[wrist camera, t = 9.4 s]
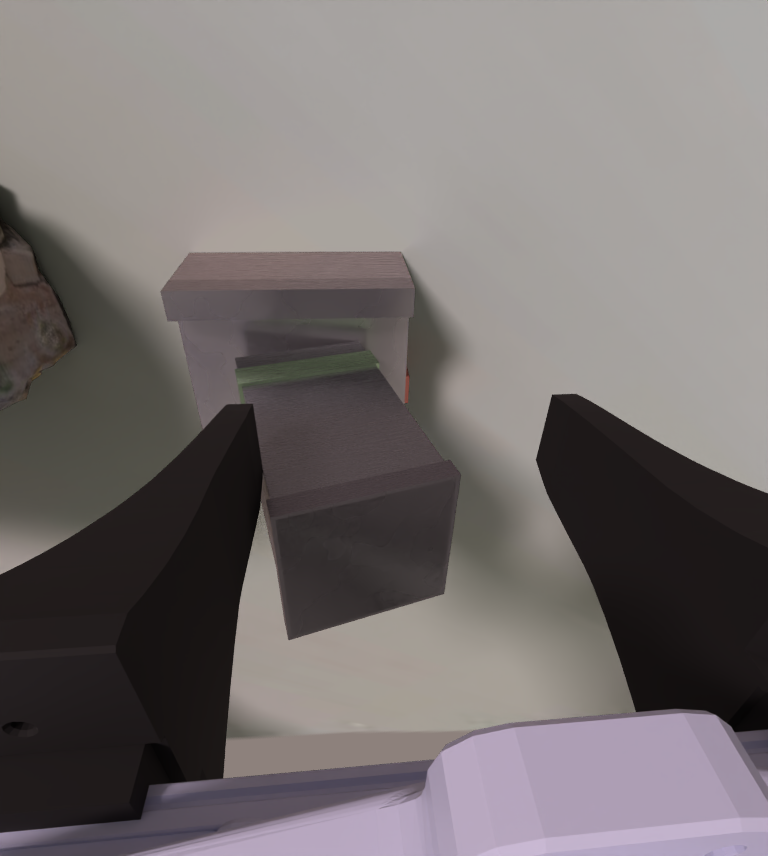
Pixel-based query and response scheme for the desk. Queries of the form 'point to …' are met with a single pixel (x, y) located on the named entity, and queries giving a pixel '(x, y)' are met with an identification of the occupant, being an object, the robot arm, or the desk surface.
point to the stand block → (287, 312)
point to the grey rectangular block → (346, 486)
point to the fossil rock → (26, 319)
